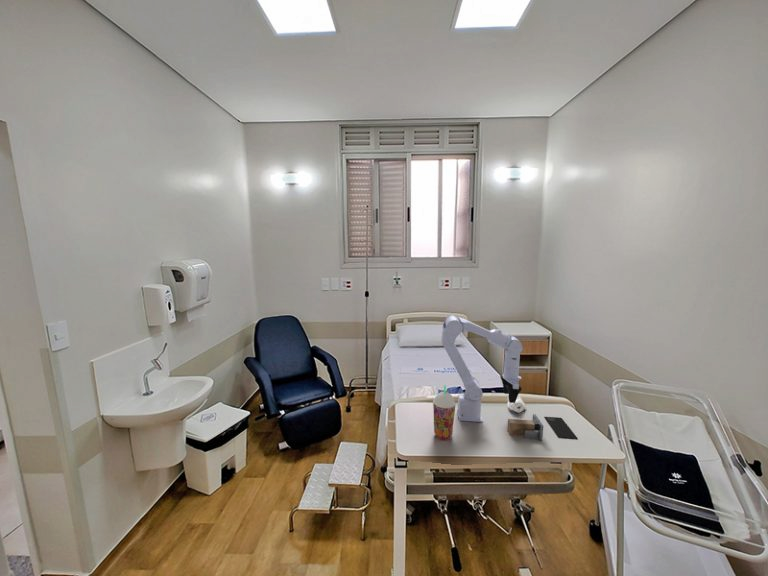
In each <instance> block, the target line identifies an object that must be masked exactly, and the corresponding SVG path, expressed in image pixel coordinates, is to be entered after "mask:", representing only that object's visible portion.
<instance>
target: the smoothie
mask: <svg viewBox="0 0 768 576" xmlns="http://www.w3.org/2000/svg"><path fill="white" fill-rule="evenodd" d="M446 388H447V387H446V385H443V391H441V392H438V393H437V394H436V395H435V397H434V398H433V400H432V405H433V432H434V434H435V437H436V438H437V439H439V440H442V441H445V440H447V441H448V440H449V439H451V437H452V436H453V432H454V431H453V430H454V423H455V422H454V421H455V412H456V405H457V404H456V400H455V399H454V397H453V395H452V394H451V393H449V392H448V391H447V389H446Z"/></svg>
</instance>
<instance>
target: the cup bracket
mask: <svg viewBox="0 0 768 576" xmlns="http://www.w3.org/2000/svg"><path fill="white" fill-rule="evenodd" d="M532 421H533V423H534V424H535V428H534V430H524V436H523V438H524V439H535V440H536V439H537V440H538V441H540V442H543V438H544V437H543V436H544V424H543V423H542V421H541V419H540V418H539V417H538V416H537V414H536V413H535V414H532Z"/></svg>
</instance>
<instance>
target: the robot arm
mask: <svg viewBox="0 0 768 576" xmlns="http://www.w3.org/2000/svg"><path fill="white" fill-rule="evenodd" d="M469 332H471V333H473V334H475V335H478V336H481V337H483V338H486V339H487V342H488V343H490V344H492V345H494V346H496V347H499V348H501V349H504V350H505V352H504V361H503V362H504V364H503V374H502V375H499V377H500V379H501V383H502V387H503V394H504V395H507V394H508V395H509V402H510V403H515V402H516V399H517V396H518V394H519V395H520V392H521V391H522V388H523V387H522V386H520V384H519V381H520V380H522V376H520V375H519V374H520V359H521V356H520V355H521V353H522V351H523V349H524V347H523V344H522V342H521V341H520V340H519V339H517V337H515V336H514V335H512V334H506V333H503V332H502V331H501V329H498V328H497V329H495V328H494V329H493V328H492V329H491V330H489V329H487V328H485V327H483V326H480V325H478V324H476V323H474V322H473V321H470V320H468V319H465V318H463V317H458V316H456V315H454V314H453V315H452V314H451V315H448V316H447V317H446V318H445V319H444V321H443V323H442V333H441V343H442V346H443V347H444V349H445V352H446V353H447V356H448V357H449V359H450V361H451V363H452V365H453V367H454V368H455V369H456V372H457V374H458V375H459V376H458V377H460V379H461V381H462V383H463V387H464V389H465V391H464V393H463V394H462V395H458V397H457V410H456V412H457V416H458V420H459V421H463V422H464V421H465V422H475V423H476V422H478V423H483V422H484V419H483V417H482V413H481V412H482V397H483V390H482V388H481V387H480V384H479V381H478V379H477V378H475V377H474V375H473V374H472V373H471V371H470V369H469V368H468V365H467V364H466V362H465V360H464V359H463V357H462V354H461V352H460V351H459V349H458V347H457V345H456V344H455V341H456V339H457V338H458V337H459V335H460V334H461V333H462V334H465V333H469Z"/></svg>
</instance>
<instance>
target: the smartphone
mask: <svg viewBox="0 0 768 576" xmlns="http://www.w3.org/2000/svg"><path fill="white" fill-rule="evenodd" d="M543 418H544V419H545V421H546V423H547V424H548V426H549V427H550V428H551V429H552V431H553V433H554V434H555V436H556V437H557V438H558V439H565V440H566V439H567V440H568V439H569V440H579V439H578V437H577V436H576V435H575V432H574V431H573V430H572V428H570V427H569V425H568V424H567V423H566V421H565V420H564V419H563V418H562V417H558V416H555V417H554V416H544V417H543Z"/></svg>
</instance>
